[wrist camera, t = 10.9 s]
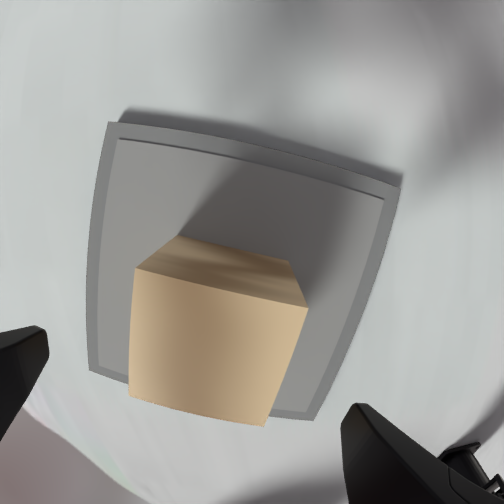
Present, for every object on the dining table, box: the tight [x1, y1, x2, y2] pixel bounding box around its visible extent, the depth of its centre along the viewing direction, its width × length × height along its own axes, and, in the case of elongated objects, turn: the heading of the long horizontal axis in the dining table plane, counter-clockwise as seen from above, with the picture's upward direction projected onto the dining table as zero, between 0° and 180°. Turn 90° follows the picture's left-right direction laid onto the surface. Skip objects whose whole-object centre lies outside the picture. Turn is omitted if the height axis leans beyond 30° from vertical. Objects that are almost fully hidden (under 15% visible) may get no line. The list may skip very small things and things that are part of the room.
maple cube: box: [129, 235, 309, 427], centre depth 11 cm, size 5×5×5 cm
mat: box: [86, 122, 401, 421], centre depth 14 cm, size 14×14×1 cm
